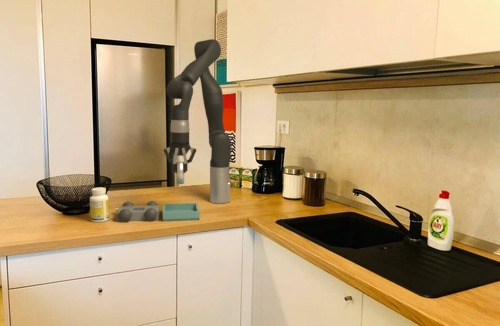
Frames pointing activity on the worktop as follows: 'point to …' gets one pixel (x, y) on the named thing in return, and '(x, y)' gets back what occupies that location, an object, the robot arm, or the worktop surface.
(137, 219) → the trolley
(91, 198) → the supplement bottle
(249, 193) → the worktop surface
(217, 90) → the robot arm
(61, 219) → the worktop surface
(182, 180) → the pin
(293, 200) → the worktop surface
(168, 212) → the tray
